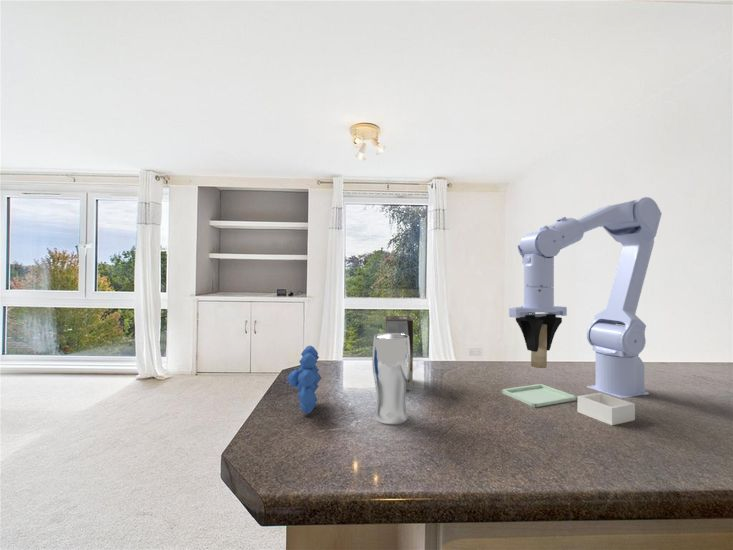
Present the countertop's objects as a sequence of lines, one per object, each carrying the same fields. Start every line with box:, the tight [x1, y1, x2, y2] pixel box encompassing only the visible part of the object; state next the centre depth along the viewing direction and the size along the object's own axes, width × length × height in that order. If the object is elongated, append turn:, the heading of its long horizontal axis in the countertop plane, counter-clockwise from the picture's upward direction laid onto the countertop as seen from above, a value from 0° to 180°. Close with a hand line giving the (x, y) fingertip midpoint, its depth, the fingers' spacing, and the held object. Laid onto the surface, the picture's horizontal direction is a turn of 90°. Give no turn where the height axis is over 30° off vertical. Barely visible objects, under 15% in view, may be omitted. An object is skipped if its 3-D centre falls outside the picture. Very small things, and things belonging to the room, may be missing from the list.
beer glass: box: [371, 332, 410, 426], centre depth 61 cm, size 7×7×15 cm
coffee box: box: [384, 315, 414, 391], centre depth 80 cm, size 9×6×16 cm
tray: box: [500, 383, 578, 408], centre depth 71 cm, size 12×9×1 cm
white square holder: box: [576, 392, 636, 426], centre depth 61 cm, size 6×6×4 cm
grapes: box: [286, 345, 322, 414], centre depth 64 cm, size 12×7×12 cm, turn 5°
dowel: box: [530, 324, 548, 369], centre depth 71 cm, size 3×3×9 cm
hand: (538, 350), depth 71 cm, fingers closed on dowel, 3 cm apart
